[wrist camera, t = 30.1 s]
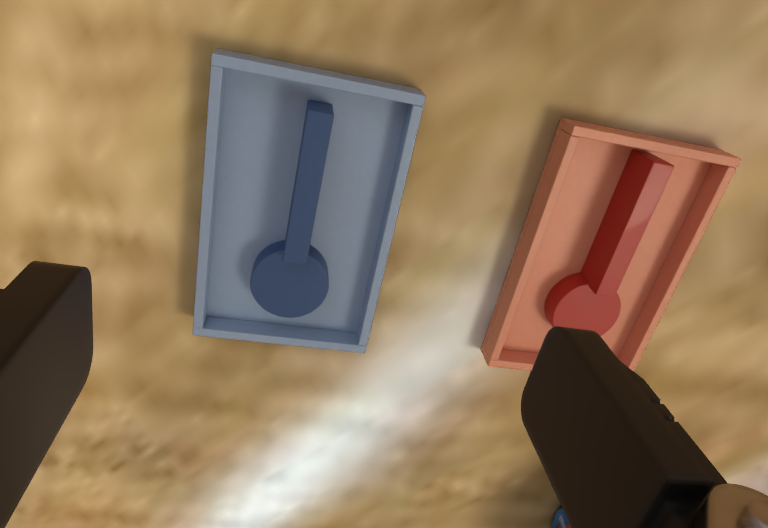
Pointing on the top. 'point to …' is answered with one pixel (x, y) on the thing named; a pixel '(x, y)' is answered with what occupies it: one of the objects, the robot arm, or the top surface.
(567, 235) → the red tray
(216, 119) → the blue tray
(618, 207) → the red spoon
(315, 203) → the blue spoon
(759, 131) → the top surface
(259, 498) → the top surface
